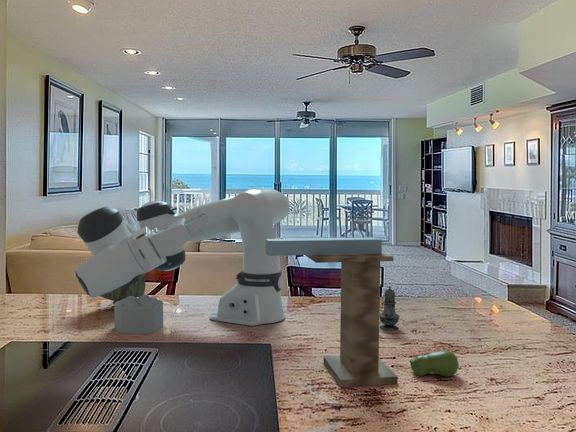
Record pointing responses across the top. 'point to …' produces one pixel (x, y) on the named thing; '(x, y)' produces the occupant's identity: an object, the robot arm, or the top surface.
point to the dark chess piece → (389, 311)
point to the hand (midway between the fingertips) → (206, 216)
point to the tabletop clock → (126, 291)
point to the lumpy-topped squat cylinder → (138, 315)
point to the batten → (323, 246)
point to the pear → (435, 363)
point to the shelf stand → (359, 321)
